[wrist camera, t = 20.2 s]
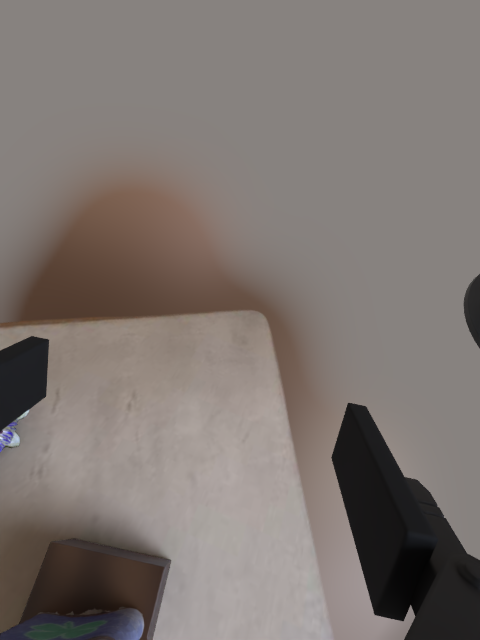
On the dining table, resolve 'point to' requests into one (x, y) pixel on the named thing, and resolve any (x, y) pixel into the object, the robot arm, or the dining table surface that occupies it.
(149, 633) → the walnut block
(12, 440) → the passion flower
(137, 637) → the flask
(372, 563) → the robot arm
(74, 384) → the dining table surface
